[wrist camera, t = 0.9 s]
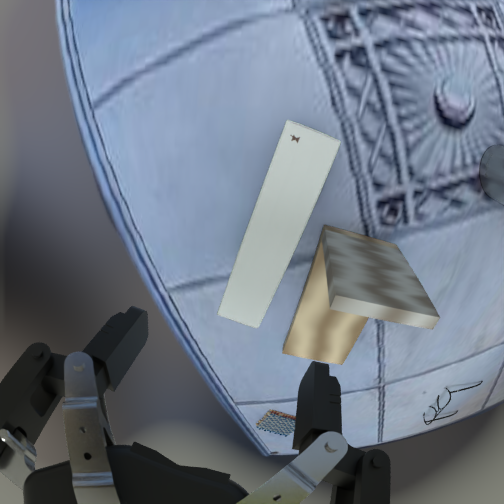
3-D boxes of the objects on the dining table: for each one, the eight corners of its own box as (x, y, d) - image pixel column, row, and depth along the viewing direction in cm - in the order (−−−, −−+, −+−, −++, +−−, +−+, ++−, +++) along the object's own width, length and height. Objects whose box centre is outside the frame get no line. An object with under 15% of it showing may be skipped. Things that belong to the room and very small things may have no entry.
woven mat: (307, 417, 62) (306, 423, 60) (288, 432, 67) (287, 437, 65) (270, 406, 62) (269, 413, 60) (254, 422, 67) (253, 428, 65)
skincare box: (273, 264, 44) (257, 331, 30) (240, 251, 44) (210, 314, 30) (326, 135, 34) (343, 141, 20) (288, 120, 34) (279, 115, 20)
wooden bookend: (396, 244, 39) (440, 317, 23) (341, 357, 50) (345, 436, 34) (323, 224, 40) (335, 295, 24) (283, 345, 51) (271, 426, 35)
